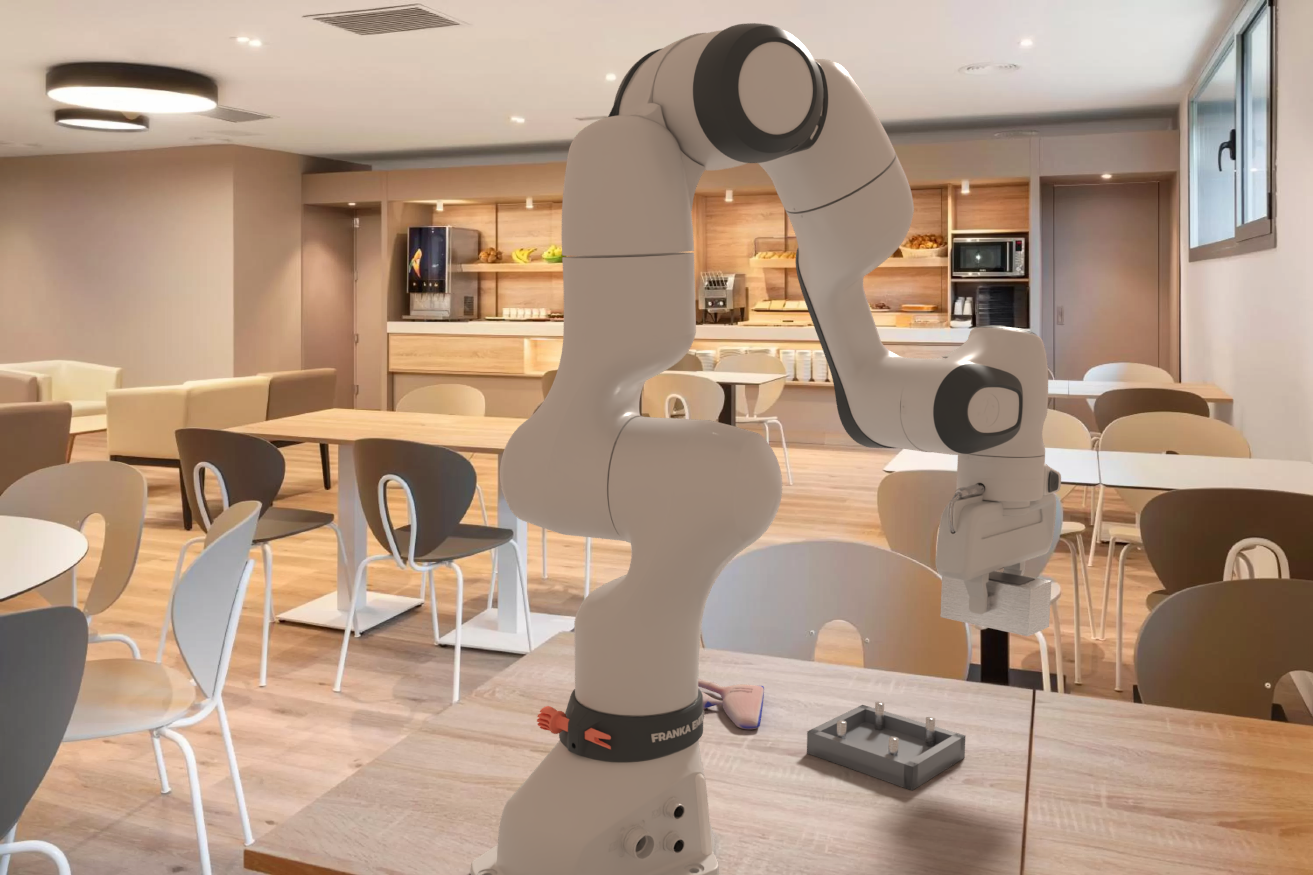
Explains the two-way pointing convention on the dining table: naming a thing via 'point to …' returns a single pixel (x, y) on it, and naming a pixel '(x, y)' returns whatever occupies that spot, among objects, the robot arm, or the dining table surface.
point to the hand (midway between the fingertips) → (993, 606)
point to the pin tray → (887, 745)
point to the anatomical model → (737, 702)
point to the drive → (1002, 603)
